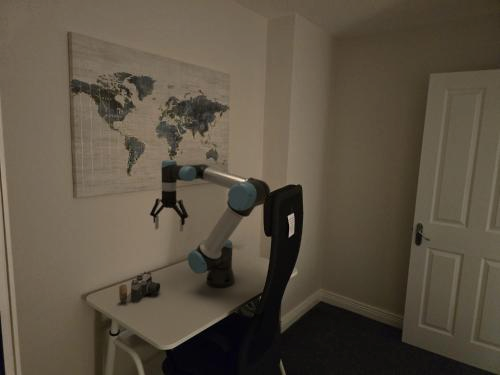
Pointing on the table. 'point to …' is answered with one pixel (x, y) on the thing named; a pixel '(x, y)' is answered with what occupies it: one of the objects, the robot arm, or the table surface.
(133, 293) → the camera
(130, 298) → the strip
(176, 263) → the table surface
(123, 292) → the brown rounded cylinder
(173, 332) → the table surface
